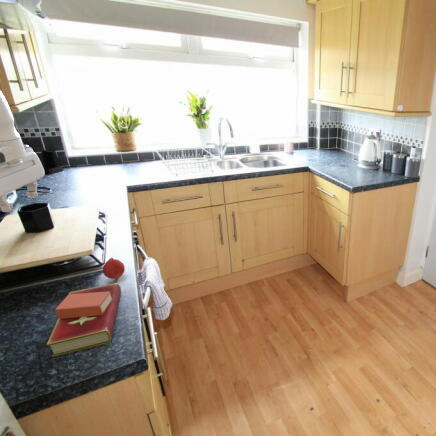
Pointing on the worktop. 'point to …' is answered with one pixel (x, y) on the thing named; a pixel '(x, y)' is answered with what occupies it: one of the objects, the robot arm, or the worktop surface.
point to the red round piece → (113, 268)
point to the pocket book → (84, 305)
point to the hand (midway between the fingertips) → (21, 203)
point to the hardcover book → (86, 326)
